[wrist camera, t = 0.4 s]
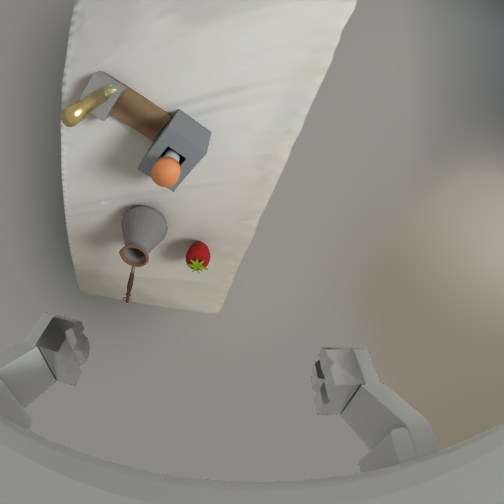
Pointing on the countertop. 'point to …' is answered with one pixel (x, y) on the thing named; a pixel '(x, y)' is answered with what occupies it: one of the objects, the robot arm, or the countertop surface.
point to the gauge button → (167, 169)
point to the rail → (140, 113)
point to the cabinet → (179, 145)
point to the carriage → (95, 99)
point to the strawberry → (198, 256)
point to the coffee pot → (140, 237)
